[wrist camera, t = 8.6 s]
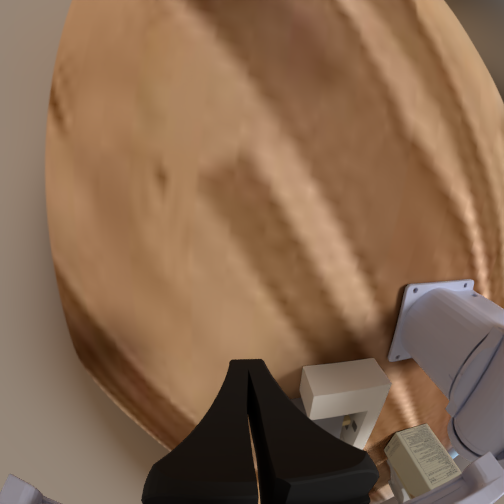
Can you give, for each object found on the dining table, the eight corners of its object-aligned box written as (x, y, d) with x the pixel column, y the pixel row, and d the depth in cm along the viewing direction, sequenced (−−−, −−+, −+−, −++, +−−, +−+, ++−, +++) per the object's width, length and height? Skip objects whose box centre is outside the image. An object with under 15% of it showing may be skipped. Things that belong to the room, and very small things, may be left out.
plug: (345, 387, 25) (356, 411, 21) (339, 418, 26) (348, 440, 23) (273, 400, 24) (278, 426, 21) (274, 430, 26) (279, 454, 22)
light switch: (396, 454, 30) (415, 489, 23) (396, 478, 33) (410, 507, 26) (386, 459, 30) (404, 495, 23) (388, 482, 34) (401, 512, 26)
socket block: (373, 357, 24) (391, 383, 20) (345, 439, 27) (355, 463, 23) (303, 366, 23) (313, 396, 19) (288, 448, 27) (294, 474, 23)
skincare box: (382, 449, 29) (412, 513, 17) (394, 431, 28) (431, 497, 16) (415, 440, 30) (448, 496, 18) (428, 422, 29) (467, 478, 17)
